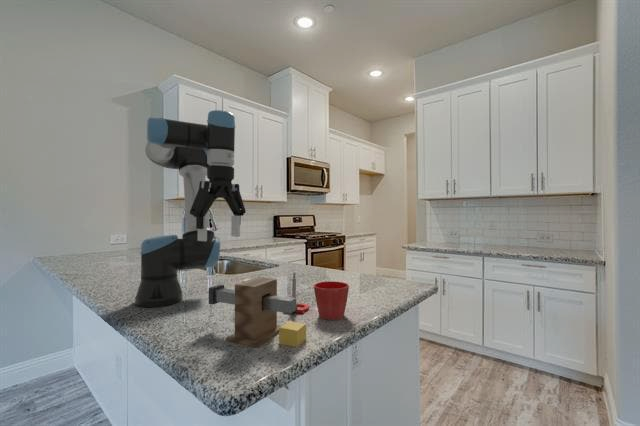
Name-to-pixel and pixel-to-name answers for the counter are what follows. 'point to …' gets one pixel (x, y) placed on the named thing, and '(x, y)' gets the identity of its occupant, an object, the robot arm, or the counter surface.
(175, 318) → the counter surface
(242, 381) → the counter surface
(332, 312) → the flower pot
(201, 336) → the counter surface
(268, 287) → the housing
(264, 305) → the shaft
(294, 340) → the block
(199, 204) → the robot arm
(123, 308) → the counter surface
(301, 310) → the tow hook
